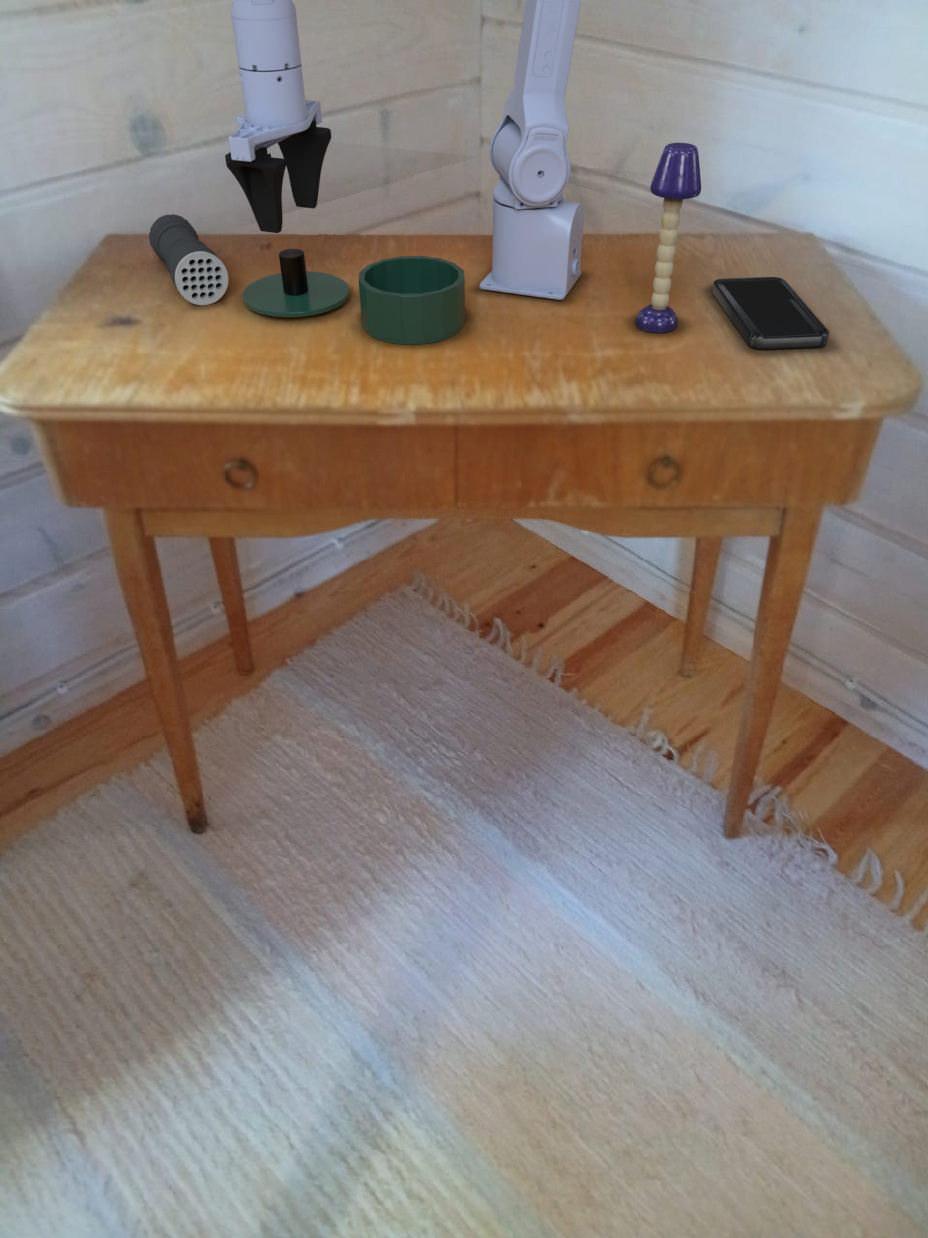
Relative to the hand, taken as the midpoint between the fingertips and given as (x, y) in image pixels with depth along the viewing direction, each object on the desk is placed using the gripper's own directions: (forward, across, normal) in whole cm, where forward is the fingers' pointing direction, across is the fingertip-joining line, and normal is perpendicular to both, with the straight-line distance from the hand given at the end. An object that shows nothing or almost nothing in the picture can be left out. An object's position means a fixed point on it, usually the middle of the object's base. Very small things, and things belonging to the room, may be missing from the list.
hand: (289, 218), depth 96 cm
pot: (+8, +1, +14) cm, 16 cm away
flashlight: (+9, -1, -14) cm, 16 cm away
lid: (+8, 0, 0) cm, 8 cm away
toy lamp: (+9, -7, +37) cm, 39 cm away
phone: (+9, -12, +47) cm, 50 cm away
